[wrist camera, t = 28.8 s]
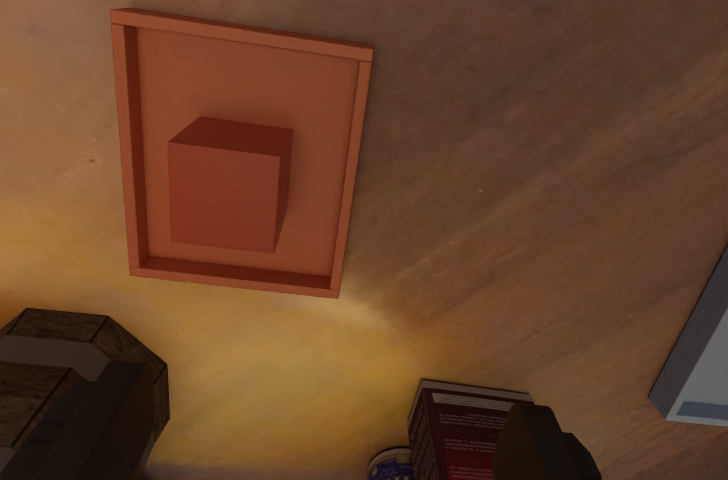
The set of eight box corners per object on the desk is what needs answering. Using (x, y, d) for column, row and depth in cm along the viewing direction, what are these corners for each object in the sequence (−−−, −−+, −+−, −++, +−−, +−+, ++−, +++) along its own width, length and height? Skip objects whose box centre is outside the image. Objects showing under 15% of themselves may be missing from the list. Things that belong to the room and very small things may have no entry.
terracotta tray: (129, 7, 25) (109, 8, 23) (372, 44, 26) (374, 49, 24) (144, 257, 31) (129, 276, 29) (339, 279, 32) (338, 299, 30)
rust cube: (198, 116, 26) (166, 141, 22) (293, 129, 27) (281, 156, 22) (199, 203, 28) (170, 242, 24) (286, 213, 29) (274, 254, 24)
